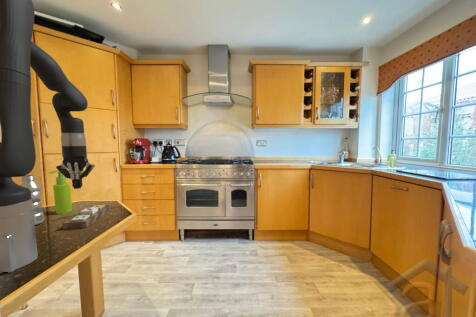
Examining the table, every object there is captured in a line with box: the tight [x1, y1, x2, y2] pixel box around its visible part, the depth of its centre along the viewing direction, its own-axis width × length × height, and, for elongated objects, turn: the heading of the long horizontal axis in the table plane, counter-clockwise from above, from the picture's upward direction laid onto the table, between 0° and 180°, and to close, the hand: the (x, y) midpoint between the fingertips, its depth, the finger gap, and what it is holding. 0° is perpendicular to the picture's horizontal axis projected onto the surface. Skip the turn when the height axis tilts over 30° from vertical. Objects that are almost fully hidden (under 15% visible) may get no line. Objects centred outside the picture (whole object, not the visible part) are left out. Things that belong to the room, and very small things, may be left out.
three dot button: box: [79, 207, 98, 215], centre depth 87 cm, size 4×4×3 cm
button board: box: [62, 204, 112, 230], centre depth 88 cm, size 21×8×2 cm, turn 10°
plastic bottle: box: [20, 174, 45, 226], centre depth 81 cm, size 6×7×20 cm
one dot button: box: [90, 204, 106, 209], centre depth 94 cm, size 4×4×3 cm
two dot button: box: [70, 215, 90, 221], centre depth 81 cm, size 4×4×3 cm
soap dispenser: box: [49, 169, 73, 215], centre depth 95 cm, size 6×7×20 cm
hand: (77, 188), depth 81 cm, fingers closed
